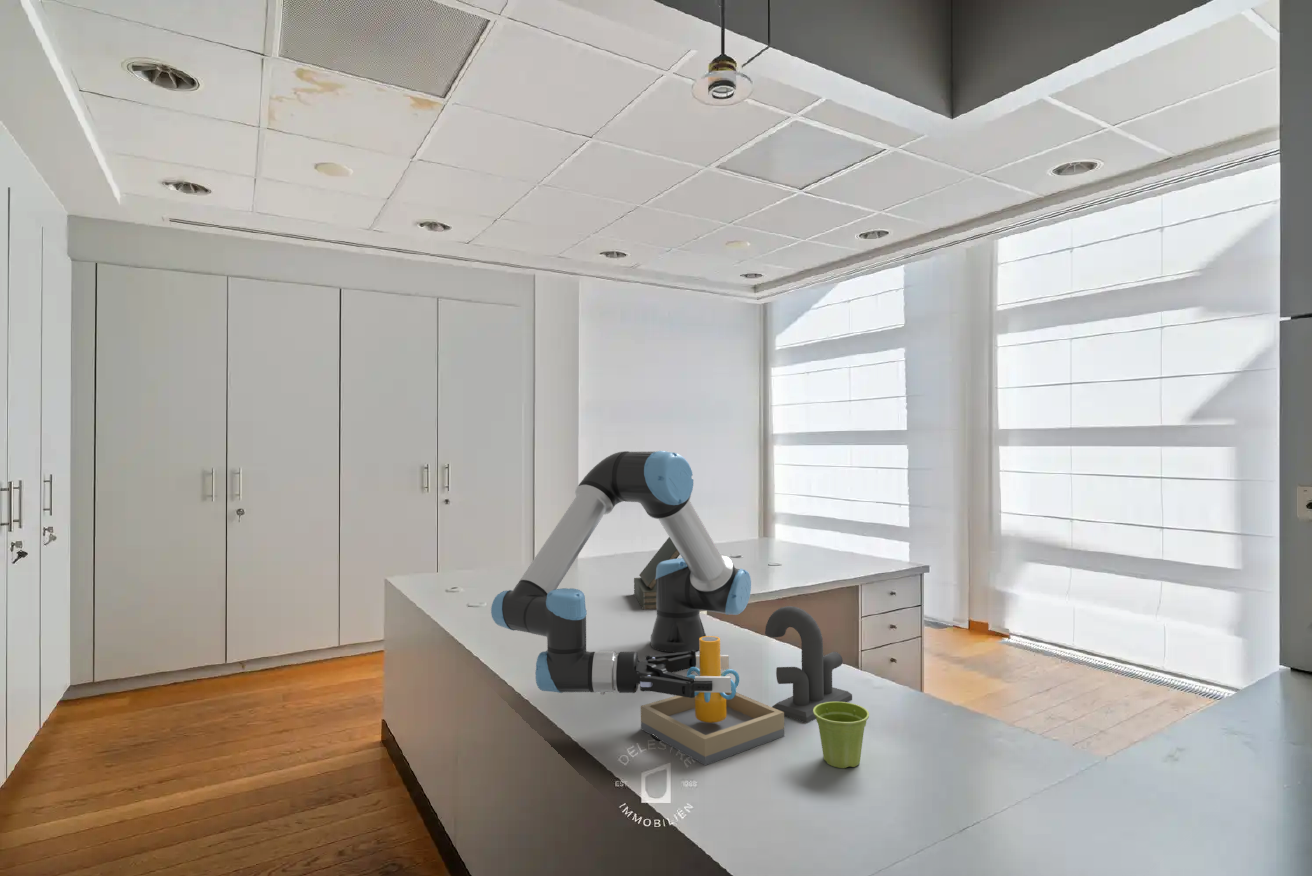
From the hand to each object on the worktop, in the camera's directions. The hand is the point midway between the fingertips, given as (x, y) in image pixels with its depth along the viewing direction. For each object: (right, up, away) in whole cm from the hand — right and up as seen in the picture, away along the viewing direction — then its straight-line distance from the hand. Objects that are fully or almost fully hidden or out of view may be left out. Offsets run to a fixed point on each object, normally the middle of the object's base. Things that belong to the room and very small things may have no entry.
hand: (729, 672), depth 138 cm
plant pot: (+18, -12, -12) cm, 25 cm away
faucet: (+16, -11, +16) cm, 25 cm away
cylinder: (-4, -9, 0) cm, 9 cm away
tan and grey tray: (-3, -12, 0) cm, 12 cm away
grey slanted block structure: (-10, -11, +110) cm, 111 cm away
